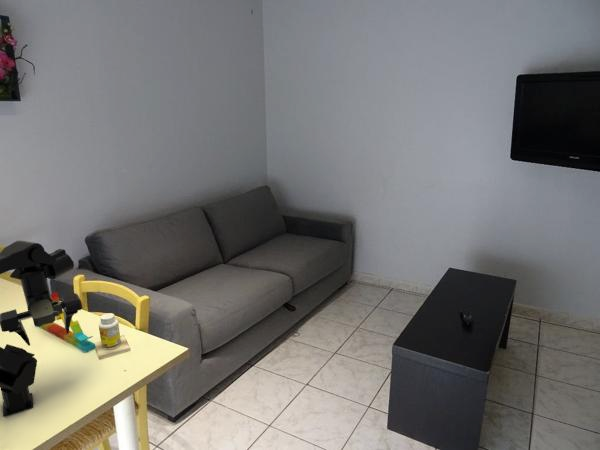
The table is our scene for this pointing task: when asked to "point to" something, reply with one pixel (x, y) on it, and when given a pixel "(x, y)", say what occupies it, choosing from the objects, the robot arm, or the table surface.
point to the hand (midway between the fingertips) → (48, 338)
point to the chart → (73, 338)
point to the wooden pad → (110, 352)
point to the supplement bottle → (109, 331)
